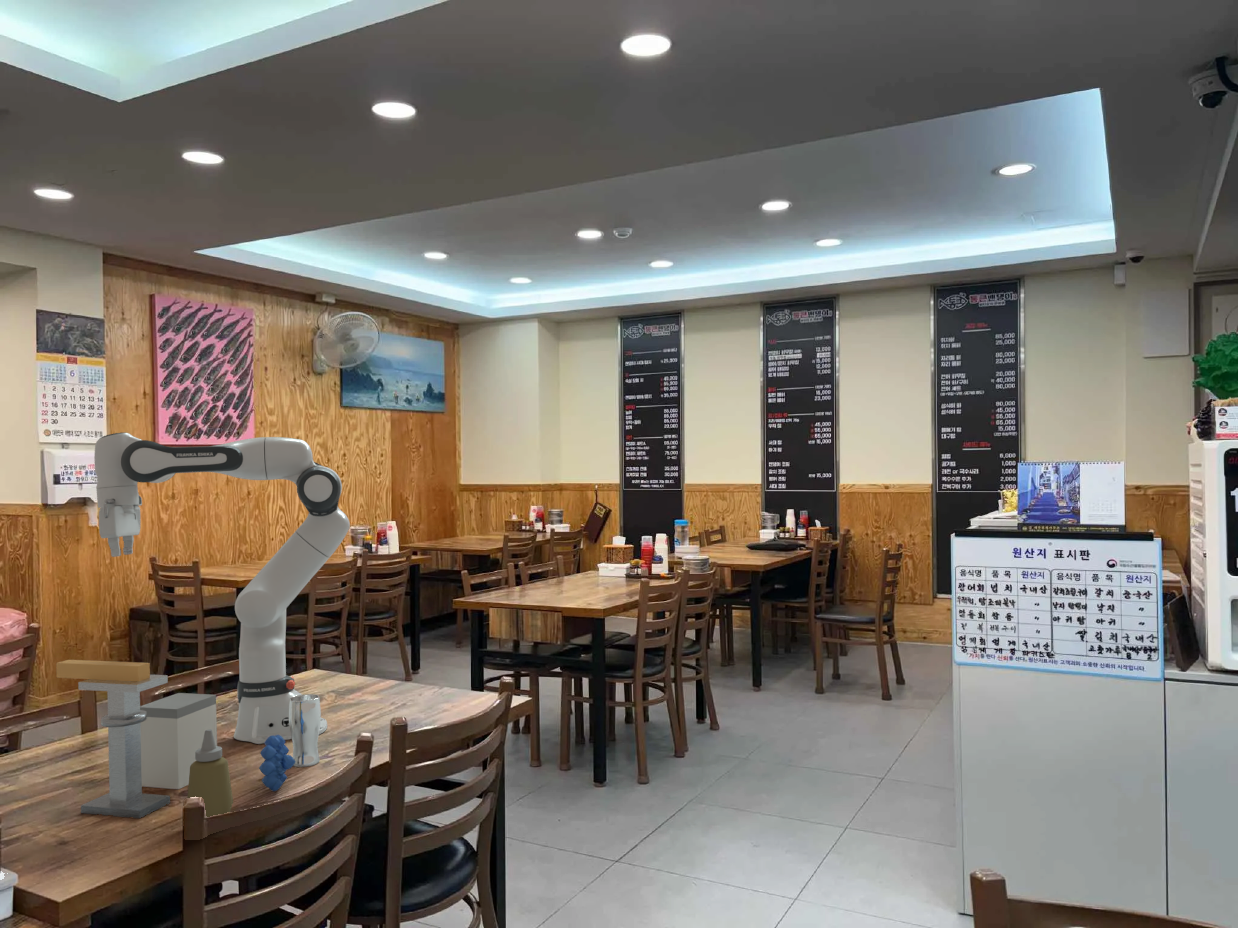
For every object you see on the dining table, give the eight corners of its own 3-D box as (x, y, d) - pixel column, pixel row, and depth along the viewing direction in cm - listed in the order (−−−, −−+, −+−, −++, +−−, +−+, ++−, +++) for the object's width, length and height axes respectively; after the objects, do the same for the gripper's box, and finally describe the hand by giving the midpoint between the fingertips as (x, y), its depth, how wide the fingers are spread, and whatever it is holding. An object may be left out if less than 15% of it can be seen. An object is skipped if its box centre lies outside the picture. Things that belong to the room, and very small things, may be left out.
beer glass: (311, 768, 199) (309, 701, 199) (283, 767, 200) (282, 700, 200) (327, 758, 206) (326, 694, 206) (300, 757, 207) (299, 693, 207)
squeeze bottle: (196, 817, 172) (194, 725, 172) (239, 815, 173) (237, 723, 173) (179, 834, 164) (177, 737, 164) (224, 832, 164) (222, 735, 165)
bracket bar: (56, 677, 180) (56, 662, 180) (69, 674, 183) (68, 659, 183) (138, 681, 175) (138, 666, 175) (149, 677, 178) (149, 662, 178)
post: (81, 812, 176) (78, 681, 176) (113, 797, 183) (110, 672, 183) (139, 818, 172) (137, 684, 172) (170, 802, 180) (167, 675, 180)
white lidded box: (139, 785, 190) (137, 706, 190) (180, 767, 202) (178, 692, 202) (178, 789, 188) (177, 709, 188) (217, 770, 199) (216, 694, 199)
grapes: (286, 800, 180) (285, 741, 180) (252, 801, 180) (251, 742, 180) (305, 780, 192) (303, 724, 192) (273, 781, 191) (272, 725, 191)
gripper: (119, 497, 208) (123, 556, 207) (143, 498, 228) (147, 552, 227) (89, 500, 206) (93, 559, 206) (116, 500, 226) (120, 554, 226)
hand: (122, 555), depth 217 cm, fingers open, 8 cm apart
